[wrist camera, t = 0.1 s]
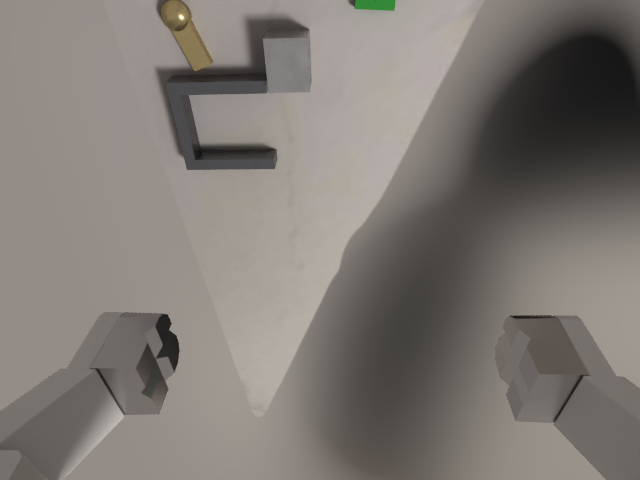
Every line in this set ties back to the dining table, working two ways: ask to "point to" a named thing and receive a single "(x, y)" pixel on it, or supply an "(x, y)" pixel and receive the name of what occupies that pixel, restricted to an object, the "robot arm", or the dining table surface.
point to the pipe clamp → (375, 4)
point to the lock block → (288, 60)
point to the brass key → (185, 33)
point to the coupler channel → (186, 127)
